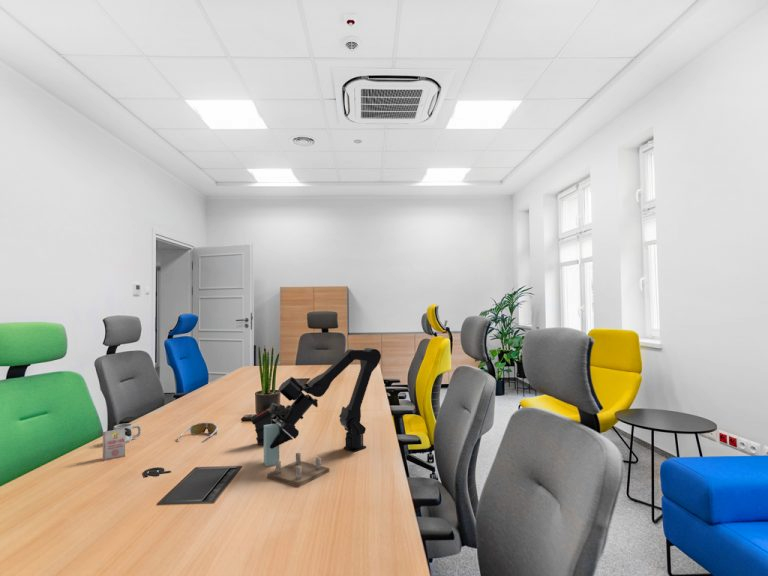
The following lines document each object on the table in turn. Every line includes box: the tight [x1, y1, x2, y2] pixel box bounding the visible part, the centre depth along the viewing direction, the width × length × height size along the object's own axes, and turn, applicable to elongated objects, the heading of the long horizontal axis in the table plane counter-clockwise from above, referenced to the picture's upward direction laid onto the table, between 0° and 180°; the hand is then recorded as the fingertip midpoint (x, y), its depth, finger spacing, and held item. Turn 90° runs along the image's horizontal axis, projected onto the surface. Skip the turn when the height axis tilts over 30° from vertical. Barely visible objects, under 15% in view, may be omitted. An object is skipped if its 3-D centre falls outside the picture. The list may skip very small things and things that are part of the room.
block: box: [263, 424, 280, 467], centre depth 150 cm, size 4×4×13 cm
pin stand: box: [266, 452, 330, 488], centre depth 139 cm, size 14×14×5 cm
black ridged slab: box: [250, 406, 283, 446], centre depth 173 cm, size 4×13×15 cm, turn 114°
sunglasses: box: [177, 421, 219, 444], centre depth 182 cm, size 14×15×5 cm
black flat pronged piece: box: [142, 466, 172, 478], centre depth 142 cm, size 9×8×1 cm
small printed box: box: [102, 428, 126, 461], centre depth 159 cm, size 4×7×10 cm, turn 128°
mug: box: [113, 423, 142, 444], centre depth 179 cm, size 10×7×7 cm
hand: (267, 444), depth 149 cm, fingers open, 9 cm apart
